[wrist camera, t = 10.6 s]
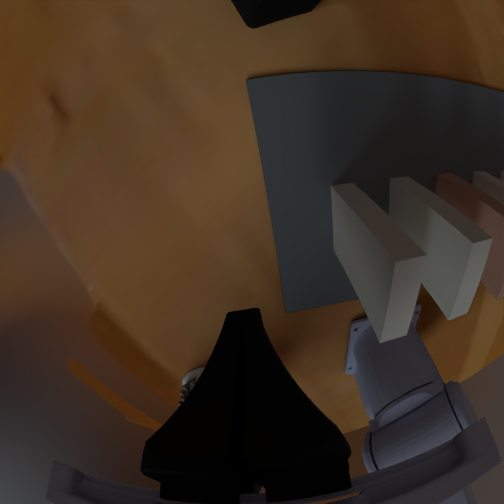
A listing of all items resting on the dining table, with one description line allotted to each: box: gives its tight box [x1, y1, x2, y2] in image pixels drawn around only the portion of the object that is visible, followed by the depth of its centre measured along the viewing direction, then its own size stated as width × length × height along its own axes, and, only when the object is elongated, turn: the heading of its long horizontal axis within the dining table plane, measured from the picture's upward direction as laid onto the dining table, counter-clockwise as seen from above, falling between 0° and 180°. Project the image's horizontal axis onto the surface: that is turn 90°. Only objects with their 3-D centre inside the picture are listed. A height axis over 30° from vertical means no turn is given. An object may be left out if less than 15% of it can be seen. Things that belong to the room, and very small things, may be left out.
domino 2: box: [389, 177, 493, 320], centre depth 14 cm, size 2×5×9 cm, turn 10°
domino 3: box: [436, 173, 504, 300], centre depth 14 cm, size 2×5×9 cm, turn 10°
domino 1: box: [331, 183, 427, 343], centre depth 15 cm, size 2×5×9 cm, turn 10°
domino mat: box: [246, 71, 504, 313], centre depth 18 cm, size 18×26×1 cm
